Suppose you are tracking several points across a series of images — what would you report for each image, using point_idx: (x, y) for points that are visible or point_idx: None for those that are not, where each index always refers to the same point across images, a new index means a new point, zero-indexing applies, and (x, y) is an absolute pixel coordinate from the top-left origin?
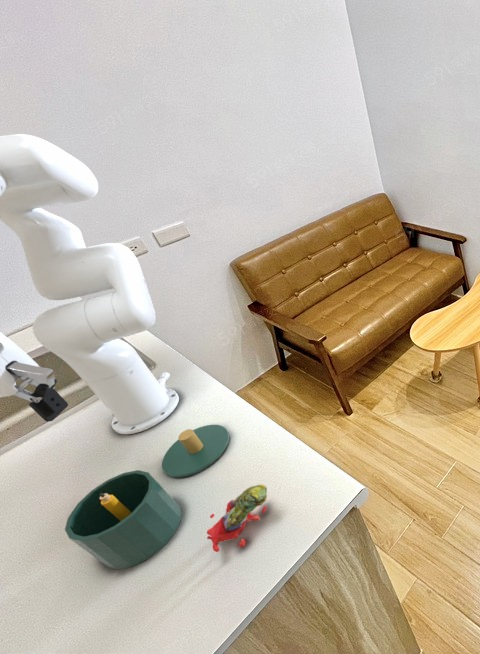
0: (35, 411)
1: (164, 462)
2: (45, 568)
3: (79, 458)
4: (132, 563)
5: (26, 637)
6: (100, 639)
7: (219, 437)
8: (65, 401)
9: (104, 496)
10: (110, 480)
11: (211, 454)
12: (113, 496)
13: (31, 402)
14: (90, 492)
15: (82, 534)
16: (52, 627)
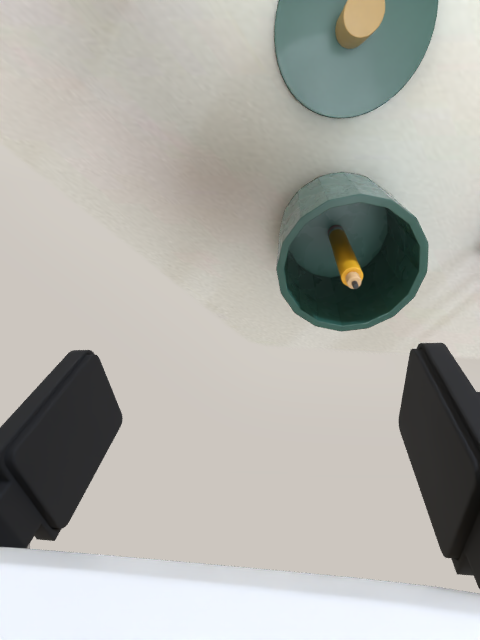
0: (423, 497)
1: (290, 79)
2: (215, 274)
3: (59, 61)
4: None
5: (266, 340)
6: (359, 346)
7: None
8: (449, 356)
9: (358, 284)
10: (308, 220)
11: (406, 48)
12: (361, 270)
13: (464, 564)
14: (284, 246)
15: (298, 290)
16: (289, 333)
